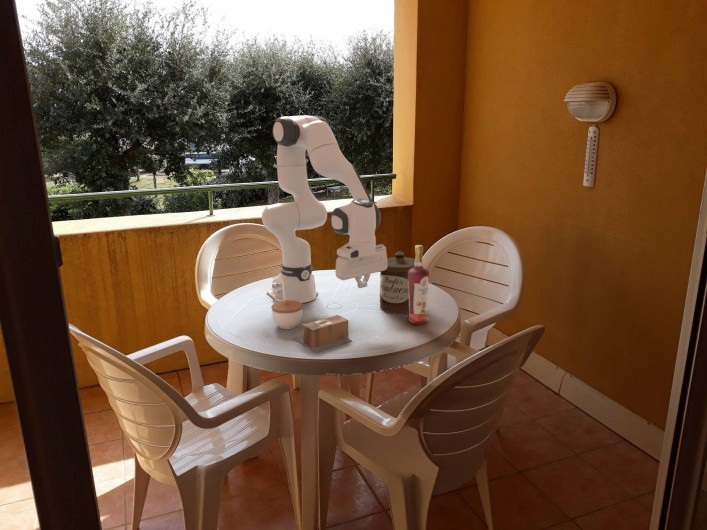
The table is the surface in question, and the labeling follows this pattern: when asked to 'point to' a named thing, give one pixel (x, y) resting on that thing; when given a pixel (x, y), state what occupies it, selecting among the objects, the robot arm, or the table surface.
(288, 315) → the lidded jar
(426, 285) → the liquor
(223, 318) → the table surface
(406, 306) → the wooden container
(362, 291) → the table surface
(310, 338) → the walnut block
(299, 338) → the slate mat
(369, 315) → the table surface
